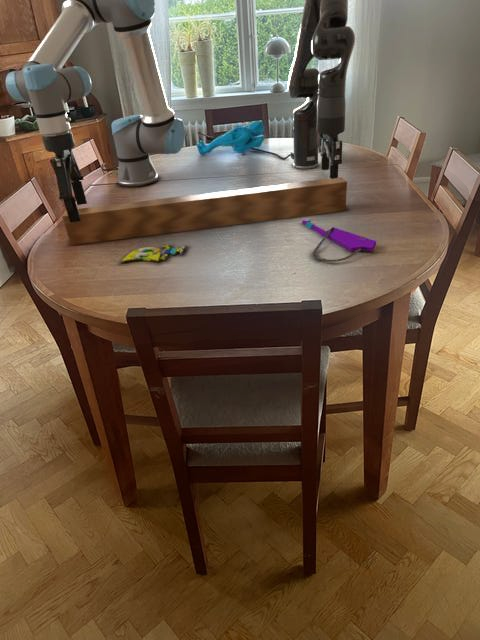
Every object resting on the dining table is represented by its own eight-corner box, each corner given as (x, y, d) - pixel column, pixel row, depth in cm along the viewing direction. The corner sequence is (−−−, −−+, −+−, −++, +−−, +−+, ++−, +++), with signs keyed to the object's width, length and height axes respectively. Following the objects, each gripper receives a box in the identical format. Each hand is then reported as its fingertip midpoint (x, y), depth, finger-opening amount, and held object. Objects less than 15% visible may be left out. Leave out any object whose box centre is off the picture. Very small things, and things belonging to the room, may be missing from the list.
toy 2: (202, 134, 216) (265, 114, 206) (210, 157, 221) (271, 139, 211) (191, 144, 203) (258, 123, 192) (200, 168, 208) (265, 149, 197)
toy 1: (177, 259, 120) (120, 260, 122) (177, 262, 121) (121, 263, 123) (186, 242, 129) (132, 243, 131) (186, 245, 129) (133, 246, 131)
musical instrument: (359, 272, 111) (387, 230, 123) (358, 264, 110) (387, 222, 122) (269, 260, 124) (303, 223, 136) (267, 253, 122) (302, 216, 134)
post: (70, 245, 136) (62, 216, 131) (73, 238, 140) (65, 210, 135) (345, 210, 142) (347, 181, 137) (340, 205, 146) (341, 176, 141)
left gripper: (63, 142, 112) (86, 227, 124) (78, 121, 133) (97, 195, 145) (30, 146, 112) (57, 231, 123) (50, 124, 132) (72, 199, 144)
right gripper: (353, 117, 123) (350, 179, 132) (336, 107, 135) (334, 165, 144) (324, 120, 123) (323, 182, 132) (310, 110, 135) (310, 168, 143)
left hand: (79, 212), depth 134 cm, fingers open, 13 cm apart
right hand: (329, 173), depth 138 cm, fingers open, 8 cm apart
